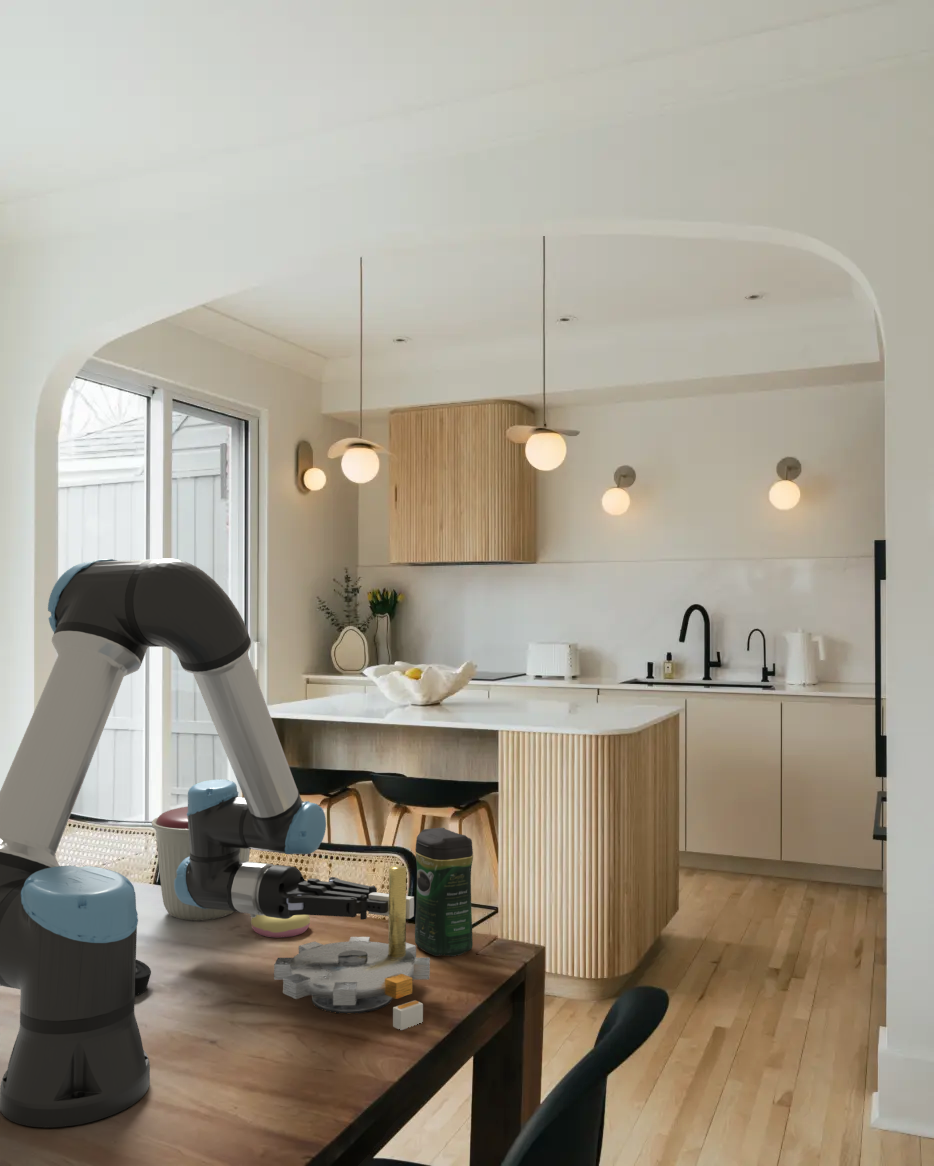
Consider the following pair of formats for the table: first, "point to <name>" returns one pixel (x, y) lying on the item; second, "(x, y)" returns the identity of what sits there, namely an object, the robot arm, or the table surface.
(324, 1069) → the table surface
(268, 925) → the donut
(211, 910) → the canister
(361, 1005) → the disc
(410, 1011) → the pointer
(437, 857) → the coffee jar
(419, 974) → the sprocket
